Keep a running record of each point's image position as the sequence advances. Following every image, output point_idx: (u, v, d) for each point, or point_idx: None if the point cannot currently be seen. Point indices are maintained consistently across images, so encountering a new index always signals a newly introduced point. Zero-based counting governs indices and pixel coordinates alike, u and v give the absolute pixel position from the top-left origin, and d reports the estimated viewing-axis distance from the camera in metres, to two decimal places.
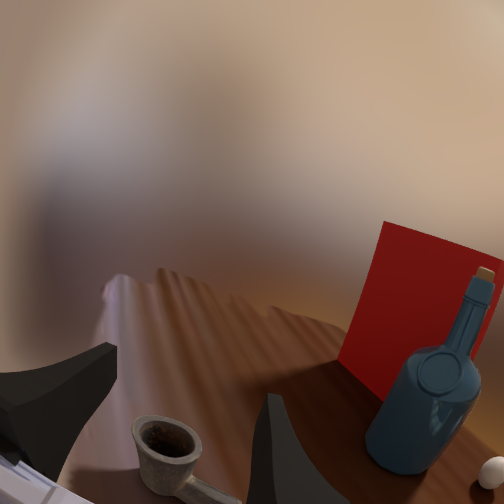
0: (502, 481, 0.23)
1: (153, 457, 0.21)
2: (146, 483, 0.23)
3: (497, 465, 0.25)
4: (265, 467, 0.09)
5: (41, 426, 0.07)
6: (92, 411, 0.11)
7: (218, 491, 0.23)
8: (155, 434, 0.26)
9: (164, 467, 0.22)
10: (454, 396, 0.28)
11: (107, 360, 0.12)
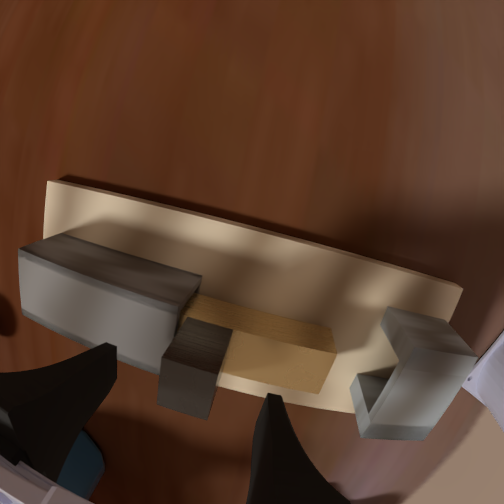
0: None
1: None
2: None
3: None
4: (265, 467, 0.09)
5: (41, 426, 0.07)
6: (92, 411, 0.11)
7: None
8: None
9: None
10: None
11: (107, 360, 0.12)
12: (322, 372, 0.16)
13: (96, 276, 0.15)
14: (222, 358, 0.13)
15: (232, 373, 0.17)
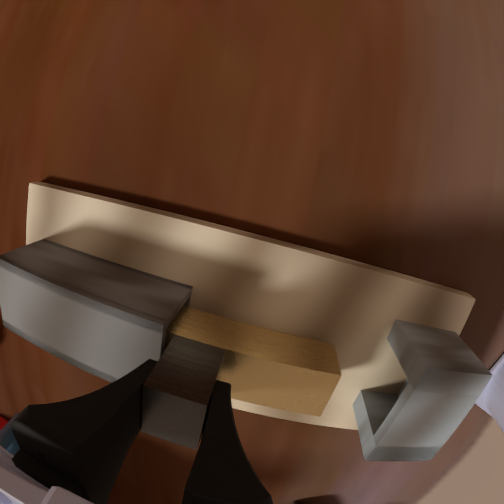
0: None
1: None
2: None
3: None
4: None
5: (98, 457, 0.07)
6: (138, 431, 0.11)
7: None
8: None
9: None
10: None
11: None
12: (325, 394, 0.14)
13: (75, 288, 0.14)
14: (212, 385, 0.11)
15: None
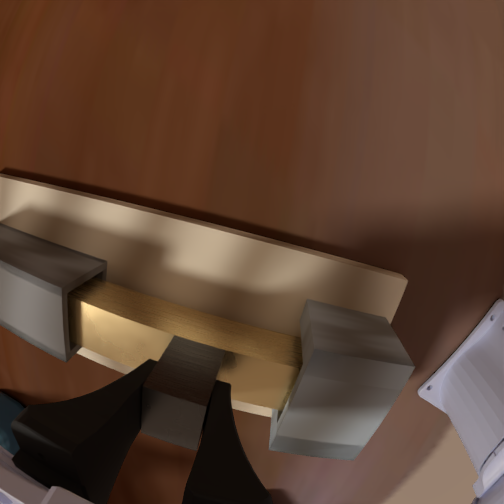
0: None
1: None
2: None
3: None
4: None
5: (98, 457, 0.07)
6: (138, 431, 0.11)
7: None
8: None
9: None
10: None
11: None
12: None
13: (5, 259, 0.14)
14: (212, 386, 0.11)
15: None
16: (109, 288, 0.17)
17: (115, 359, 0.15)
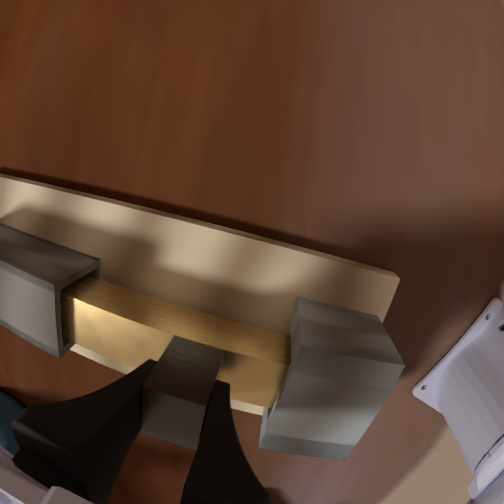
0: None
1: None
2: None
3: None
4: None
5: (98, 457, 0.07)
6: (138, 431, 0.11)
7: None
8: None
9: None
10: None
11: None
12: None
13: (1, 256, 0.14)
14: (211, 385, 0.11)
15: None
16: (109, 288, 0.17)
17: (115, 359, 0.15)
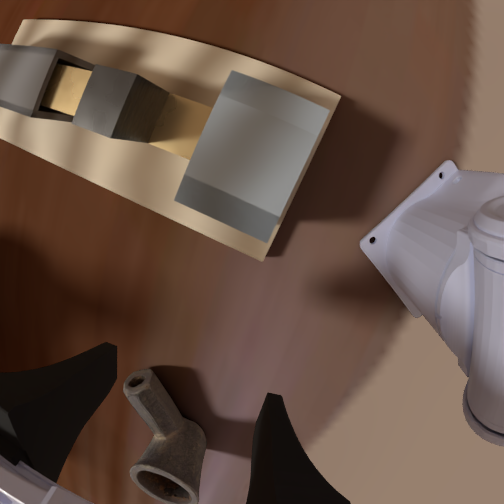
0: None
1: (188, 486, 0.19)
2: (204, 441, 0.26)
3: None
4: (265, 467, 0.09)
5: (41, 426, 0.07)
6: (92, 411, 0.11)
7: (139, 414, 0.22)
8: (171, 486, 0.22)
9: (182, 470, 0.20)
10: None
11: (107, 360, 0.12)
12: None
13: (21, 45, 0.14)
14: (147, 80, 0.12)
15: (157, 144, 0.15)
16: None
17: None
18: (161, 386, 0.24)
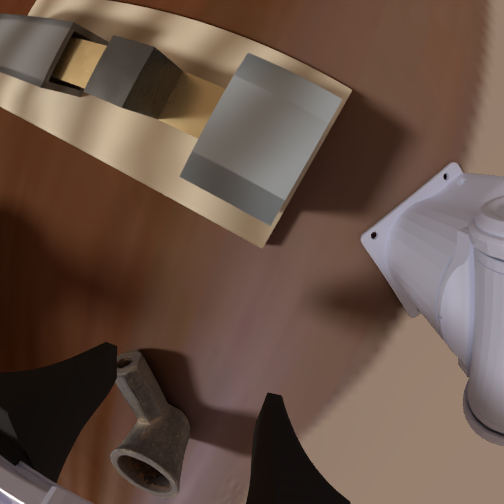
0: None
1: (169, 474, 0.19)
2: (188, 430, 0.25)
3: None
4: (265, 467, 0.09)
5: (41, 426, 0.07)
6: (92, 411, 0.11)
7: (124, 396, 0.22)
8: (152, 474, 0.22)
9: (164, 457, 0.20)
10: None
11: (107, 360, 0.12)
12: None
13: (37, 17, 0.13)
14: (164, 55, 0.12)
15: (166, 121, 0.15)
16: None
17: None
18: (149, 369, 0.24)
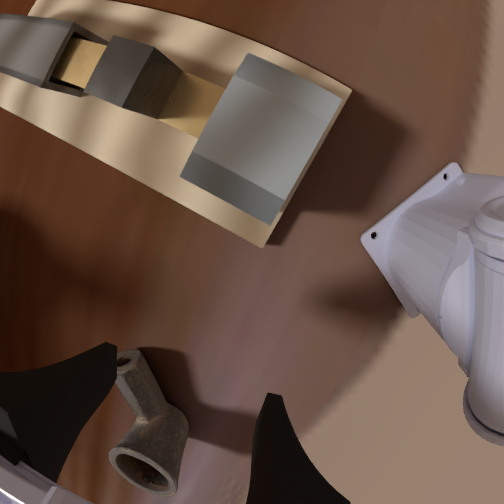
0: None
1: (168, 473, 0.19)
2: (187, 429, 0.25)
3: None
4: (265, 467, 0.09)
5: (41, 426, 0.07)
6: (92, 411, 0.11)
7: (123, 395, 0.22)
8: (150, 472, 0.22)
9: (162, 456, 0.20)
10: None
11: (107, 360, 0.12)
12: None
13: (37, 17, 0.13)
14: (164, 55, 0.12)
15: (166, 121, 0.15)
16: None
17: None
18: (148, 368, 0.24)
